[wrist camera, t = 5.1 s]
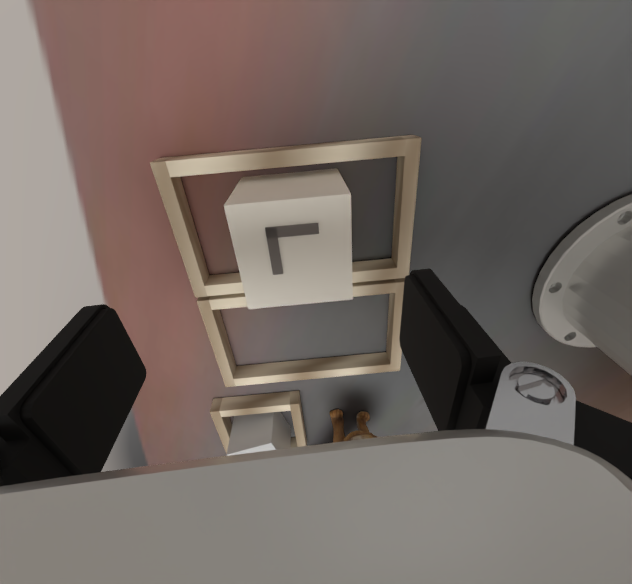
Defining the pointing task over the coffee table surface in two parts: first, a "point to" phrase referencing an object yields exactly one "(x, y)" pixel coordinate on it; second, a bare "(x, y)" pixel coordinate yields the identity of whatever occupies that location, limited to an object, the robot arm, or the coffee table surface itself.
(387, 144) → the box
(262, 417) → the grey block
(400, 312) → the middle box
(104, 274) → the coffee table surface
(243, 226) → the letter cube
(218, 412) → the small box
